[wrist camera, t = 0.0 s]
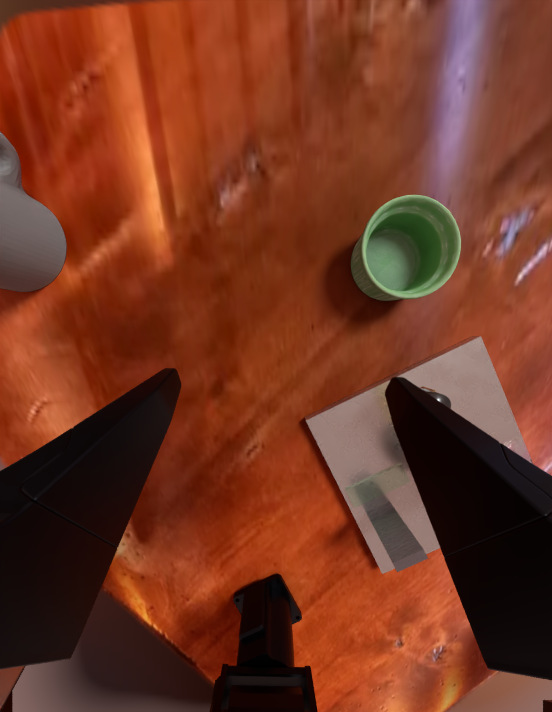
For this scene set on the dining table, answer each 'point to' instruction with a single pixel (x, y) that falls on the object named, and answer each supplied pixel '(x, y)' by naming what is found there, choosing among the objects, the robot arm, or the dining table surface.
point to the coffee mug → (25, 231)
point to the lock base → (384, 453)
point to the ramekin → (406, 249)
